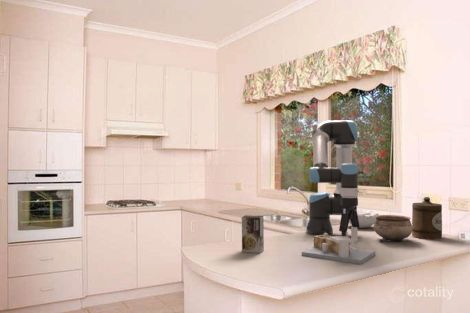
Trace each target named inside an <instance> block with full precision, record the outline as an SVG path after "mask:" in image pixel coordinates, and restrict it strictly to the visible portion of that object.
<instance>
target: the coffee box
mask: <svg viewBox="0 0 470 313" xmlns="http://www.w3.org/2000/svg"><path fill="white" fill-rule="evenodd" d="M264 226H265V225H264V215H251V214H250V215H249V214H247V215H246V214H245V215H244V216H241V253H242V252H243V253H256V254H257V253H258V254H261V253H263V252H264V251H265V244H264V243H265V242H264V240H265V239H264V234H265V233H264V232H265V231H264Z"/></svg>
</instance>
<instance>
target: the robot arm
mask: <svg viewBox="0 0 470 313" xmlns="http://www.w3.org/2000/svg"><path fill="white" fill-rule="evenodd" d="M356 124H357V123H356V122H355V121H354V120H348V119H347V120H326V121H323V122H321V123H319V124H318V125H317V126H316V127H315V128H314V129H313V132H312V133H311V142H312V144H313V146H312V147H313V148H312V149H313V152H312V153H313V156H312V158H313V159H312V164H313V165H312V167H309V170H308V171H309V172H308V174H309V175H308V179H309V182H310V183H317V184H323V183H324V184H326V183H327V184H336V186H335V187H336V188H335V190H333V194H331V193H330V192H328V191H326V192H324V191H323V192H316V193H312V194H310V195H309V199H308V200H309V201H308V204H309V205H308V206H309V208H308V212H309V214H308V219H309V220H308V222H307V226H306V229H305V233H307V234H308V235H313V236H318V235H324V233H328V235H329V236H331V235H333V234H334V229H333V226H332V222H331V220H330V218H331V216H340V220H339V221H340V222H339V227H338V228H339V229H338V231H339V232H340V233H341V235H340V236H346V237H348V238H349V231H348V229H349V225H351V224H352V225H351V229H350V232H351V233H350V238H351V239H353V242H358V227H359V221H358V215H357V211H358V207H357V206H358V205H359V199H358V198H359V195H358V194H359V192H360V190H359V186H358V184H359V182H358V181H359V174H358V173H359V169H358V168H359V166H358V164H357V163H353V147H354V146H355V145H356V142H358V140H359V138H358V137H359V136H358V127H357V125H356ZM330 142H333V146H335V147H336V151H335V152H336V154H335V156H336V157H335V158H336V162H335V164H336V167H332V166H331V167H330V166H329V148H328V147H329V143H330ZM349 220H350V221H351V224H350V223H349Z"/></svg>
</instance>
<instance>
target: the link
mask: <svg viewBox="0 0 470 313" xmlns="http://www.w3.org/2000/svg"><path fill="white" fill-rule="evenodd" d="M330 237H333V236H332V235H328V237H327V238H324V235H313V247H317V248H319V249H322V244H323V243H327V244H328V251H331V252H334V253H337V254H339V243H336V242H334V241H332V240H330ZM350 248H351V243H349V254H350Z"/></svg>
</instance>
